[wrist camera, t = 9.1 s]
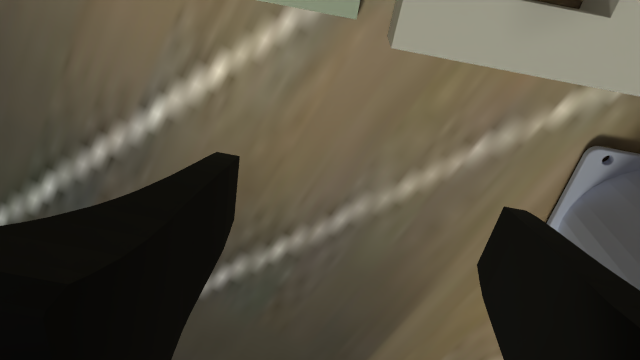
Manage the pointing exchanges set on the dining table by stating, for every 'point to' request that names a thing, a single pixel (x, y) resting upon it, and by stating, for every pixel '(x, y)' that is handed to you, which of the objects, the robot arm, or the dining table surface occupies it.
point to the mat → (324, 6)
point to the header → (528, 38)
